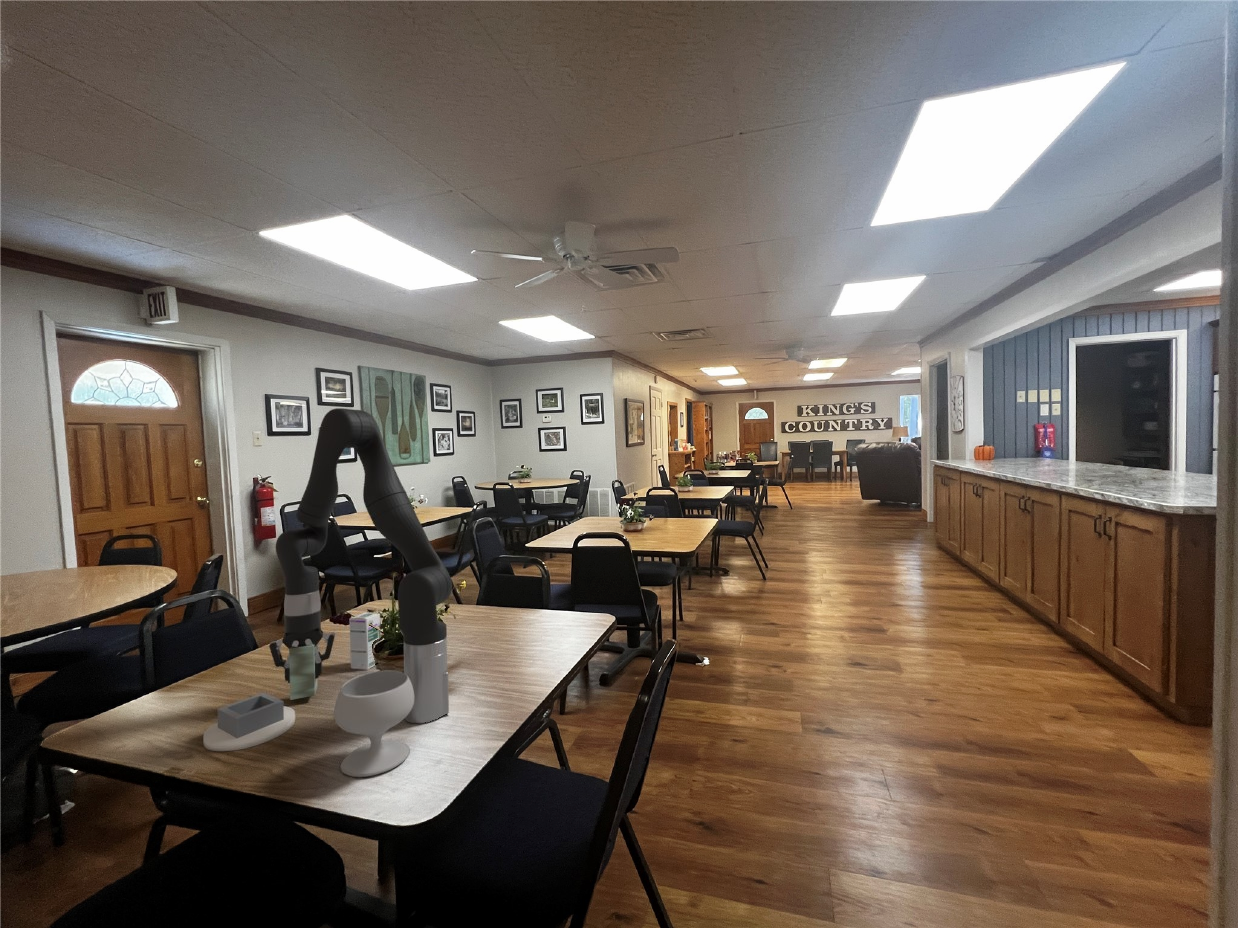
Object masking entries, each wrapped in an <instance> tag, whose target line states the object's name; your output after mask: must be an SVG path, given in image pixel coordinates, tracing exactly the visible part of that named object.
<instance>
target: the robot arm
mask: <svg viewBox="0 0 1238 928" xmlns="http://www.w3.org/2000/svg"><path fill="white" fill-rule="evenodd" d="M318 430H319V431H318V435H317V440H316V444H315V445H316V446H315V450H314V454H313V455H314V456H313V458H312V466H311V468H310V469H311V471H310V475H309V479H308V480H307V481H308V482H307V484H306V487H305V490H304V492H303V495H302V497H301V500H300V502H299V505H298V507H297V510H296V513H295V518H296V520H297V521H298V522H299V523H301V524H303V525H305V527H304V528H299V529H291V530H285V531H283V532H281V534H280V535H279V536H278V538H276V542H275V553H276V555H277V556H276V557H277V559H278V561H279V564H280V567H281V570H282V573H283V576H284V602H283V608H284V611H283V612H284V613H283V614H284V615H283V616H284V618H283V619H284V635H283V637H282V638H281V639H278V640H275V639H274V640H272V641H271V642H270V644H269V646H268V647H269V650H270V653H271V654H270V655H271V656H272V660H273V663H274V667H276V668H279V667H280V668H283V669H284V680H285V682H287V683H288V684H290V662H289V653H288V655H287V657H286V659H284V658H283V655H282V652H281V649H282V647H283V646H282V645H284V646H285V647H287V649H288V650H289V649H290V648H297V647H298V646H305V645H307V646H310V645H314V655H315V662H316V663H315V679H317V680H318V679H319V677H320V676H322V673H323V662H324V661H325V660H329V659H330V657H331V654H332V651H333V645H334V642H335V638H336V637H335V636H336V633H335V632H334V631H333V632H330V633H327V632H324V631H323V629H322V628H321V627H322V626H321V624H322V622H321V619H322V618H321V606H322V604H321V603H322V602H321V596H320V590H319V589H320V586H319V585H320V582H319V577H320V575H319V569H318V568H317V567H315V566H309V565H305V564H304V562H303V558H307V557H311V556H316V555H319V554H320V552H322V551H323V549H324V548H325V546H326V544H327V541H328V530H329V529H328V528H329V520H330V516H331V514H332V512H333V510H334V507H335V504H336V502H337V499H338V497H339V481H338V475H337V467H338V462H339V459H340V458H341V455H342V454H343V452H344V450H345V449H354V451H355V452H356V454H357V456H358V458H359V460H360V462H361V464H362V468H363V470H364V471H363V472H364V481H363V490H362V495H363V496H362V497H363V499H362V500H363V503H364V506H365V509H366V510H367V513H368V516H369V518H370V519H371V521H372V524H373V526H374V527H375V528H376V530H377V531H378V532H379V533H380V535H382V536H383V537H384V538H385V539H386V540H387V541H388V542H389V543H391V545H392V546H394V547H395V548H396V549H397V550H398V551H399V552H400V553H401V554H402V556H403V557H404V558H405V560H406V562H407V564H408V566H409V568H410V570H411V572H409V573H407V574H405V576H404V577H402V579H401V580H400V582H399V586H398V590H397V591H398V592H397V608H398V621H399V627H400V631H401V633H402V635H403V673H405V674H406V675H407V676H408V677H409V679H410V681H411V683H412V686H413V690H414V705H413V707H412V709H411V711H410V713H409V714H408V715H407V716H406V717H405V718H404V719H405V721H407V722H409V723H412V724H425V722H426V723H431V722H433V721H432V720H434V721H436V720H435V719H437V720H439V719H440V718H439V717H441V716H443V715H445V714H448V713H449V714H450V711H449V709H450V705H449V703H450V701H449V700H450V699H449V698H450V697H449V691H450V690H449V672H448V647H447V646H448V643H447V642H448V639H447V637H448V634H447V624H446V623H445V622H443V621H440V620H438V611H437V606H438V605H440V604H442V603H443V602H445V601H447V600H448V599H449V597H450V596H451V594H452V591H453V581H452V578H451V576H450V574H449V571H448V570H447V568H446V566H445V564H444V563H443V561H442V559H441V558H440V556H439V555H438V554H437V551H435V549H434V546H433V545H432V544H431V542H430V539H429V537H428V536H427V534H426V532H425V530H424V527H423V525H422V524H421V521H420V519H419V517H418V515H417V514H416V511H415V508H414V506H413V504H412V502H411V500H410V497H409V496H408V494H407V492H406V490H405V488H404V486H403V484H402V482H401V480H400V478H399V475H398V473H397V471H396V469H395V467H394V464H393V462H392V461H391V458H390V455H389V452H388V450H387V448H386V443H385V442H384V439H383V436H382V432H381V429H380V427H379V425H378V422H377V421H376V419H375V418H374V416H373V415H372V414H371V413H369V412H367V411H364V410H360V409H353V408H351V409H350V408H340V407H339V408H337V407H336V408H333V409H330V410H329V411H328V412H327V413H326V414H324V416H323V418H322V421H321V423H320V427H319V429H318ZM322 639H324V640H323V641H324V643H326V647H325V651H324V653H323V654H322V652H321V650H320V648H319V646H318V644H319V643H320V641H321V640H322ZM315 647H316V648H315ZM445 716H446V715H445ZM443 717H444V716H443ZM438 718H439V719H438ZM441 718H442V717H441ZM430 721H431V722H430Z"/></svg>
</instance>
